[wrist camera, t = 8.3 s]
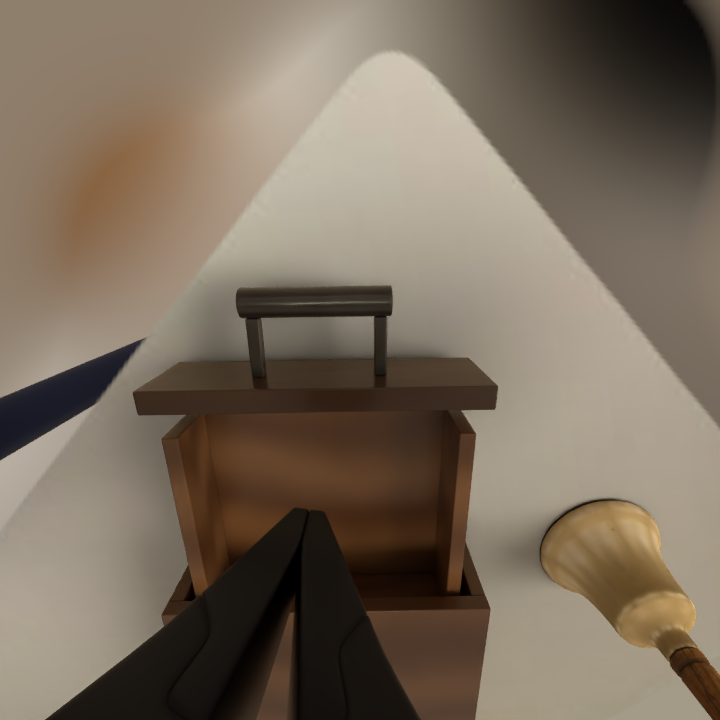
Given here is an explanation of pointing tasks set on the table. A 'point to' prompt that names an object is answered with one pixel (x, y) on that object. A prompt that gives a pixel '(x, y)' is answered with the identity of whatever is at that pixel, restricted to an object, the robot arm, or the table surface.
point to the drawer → (325, 448)
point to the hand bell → (630, 586)
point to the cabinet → (402, 647)
